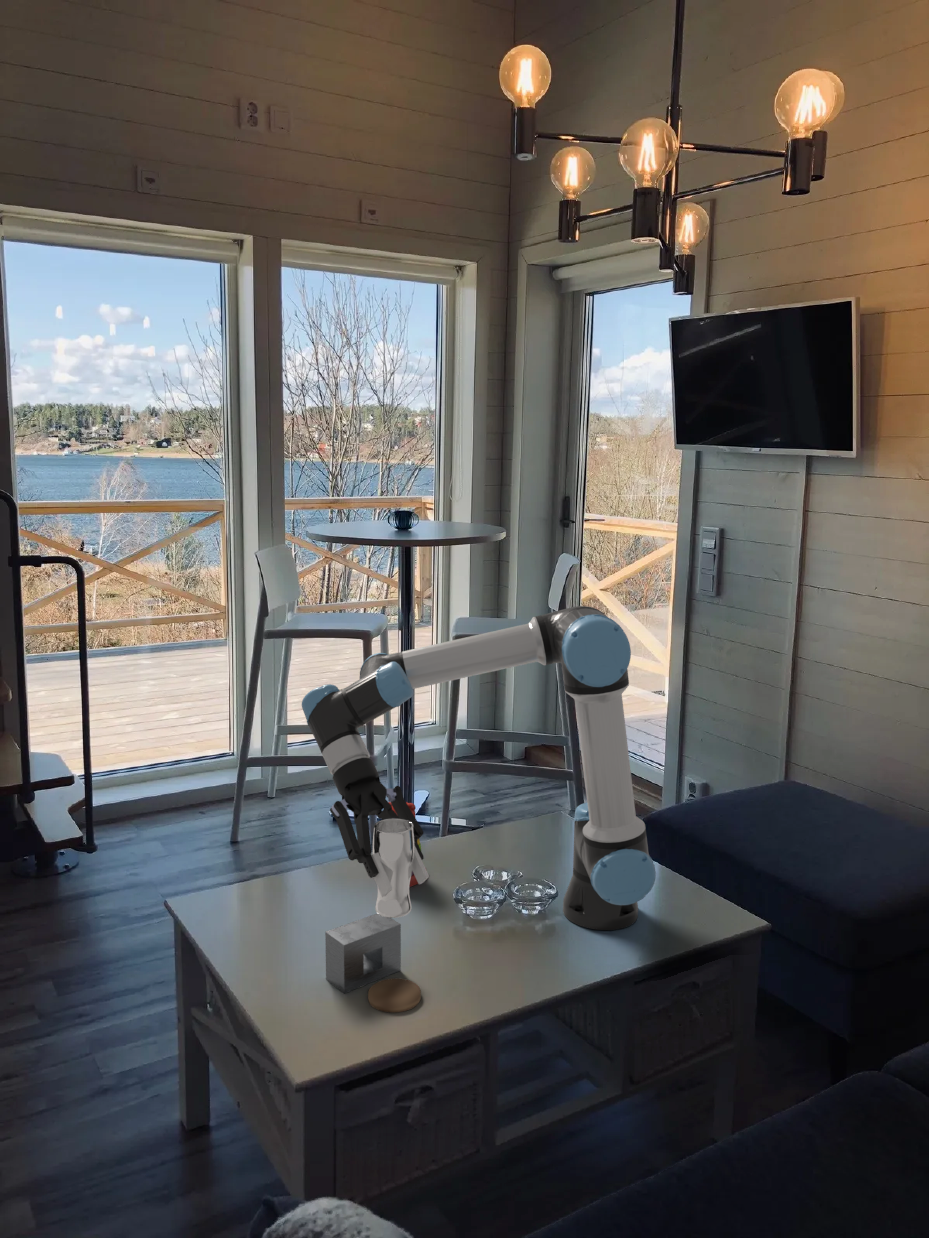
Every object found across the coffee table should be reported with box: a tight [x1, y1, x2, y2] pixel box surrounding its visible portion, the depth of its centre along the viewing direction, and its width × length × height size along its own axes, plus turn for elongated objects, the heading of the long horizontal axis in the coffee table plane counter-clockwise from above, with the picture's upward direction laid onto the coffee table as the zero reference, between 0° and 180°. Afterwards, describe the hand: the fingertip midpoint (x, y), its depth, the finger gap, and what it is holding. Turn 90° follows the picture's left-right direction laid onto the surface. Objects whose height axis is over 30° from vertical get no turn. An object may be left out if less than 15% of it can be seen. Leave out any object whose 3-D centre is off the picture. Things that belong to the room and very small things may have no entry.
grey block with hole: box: [324, 912, 402, 994], centre depth 173 cm, size 6×12×9 cm, turn 130°
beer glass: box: [372, 818, 414, 919], centre depth 163 cm, size 7×7×15 cm
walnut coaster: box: [367, 977, 422, 1014], centre depth 166 cm, size 9×9×1 cm
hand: (406, 886), depth 160 cm, fingers closed on beer glass, 7 cm apart
